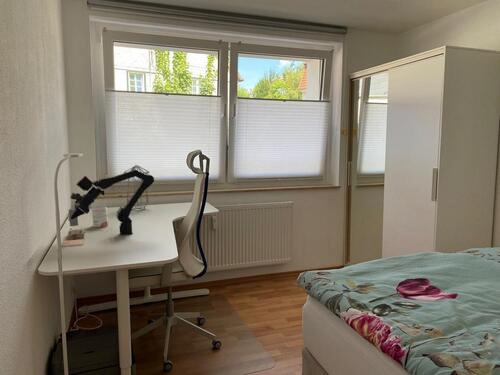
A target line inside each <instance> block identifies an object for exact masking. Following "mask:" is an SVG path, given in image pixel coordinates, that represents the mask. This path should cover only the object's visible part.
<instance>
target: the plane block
mask: <svg viewBox="0 0 500 375" xmlns="http://www.w3.org/2000/svg"><path fill="white" fill-rule="evenodd" d="M74 239H75V240H80V239H85V229H84V228H83V227H82V226H81V227H80V229H78V228H77V229H72V228H69V230H68V233H67V241H70V240H74Z"/></svg>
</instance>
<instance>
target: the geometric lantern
mask: <svg viewBox="0 0 500 375" xmlns="http://www.w3.org/2000/svg"><path fill="white" fill-rule="evenodd" d="M134 169H135V170H138V171H139V172H141V173H143V174H150V171H149V170H147V169H145V168H143V167H141V166H140V165H134V166H132V167H131V168H128V169H127V170H126V171H124V172H123V173H126V172H129V171H132V170H134ZM131 179H132V180H133V185H134V186H133V194H134V193H135V191H136V189H137V188H138V187H139V185H140V182H141V180H142V179H140V178H138V179H137V180H136V179H135V177H132V178H131ZM126 183H127V187H129V184H132V181H130V178H129V179H127V182H126ZM147 189H148V188H147ZM147 189H146V190H145V196H146V197H145V198H146V203H143V201H140V202H139V200H138V201H137V202H136V204H135V205H134V206H133V208H132V209H131V212H132V211H136V212H137V211H138V212H140V211H144V210H146V207H147V206H148V205H149V197H148V196H149V195H148V190H147ZM126 197H127V198H126V203H127V202H128V201H129V191H127V196H126ZM139 199H140V200H142V196H141V197H140V198H139Z"/></svg>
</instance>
